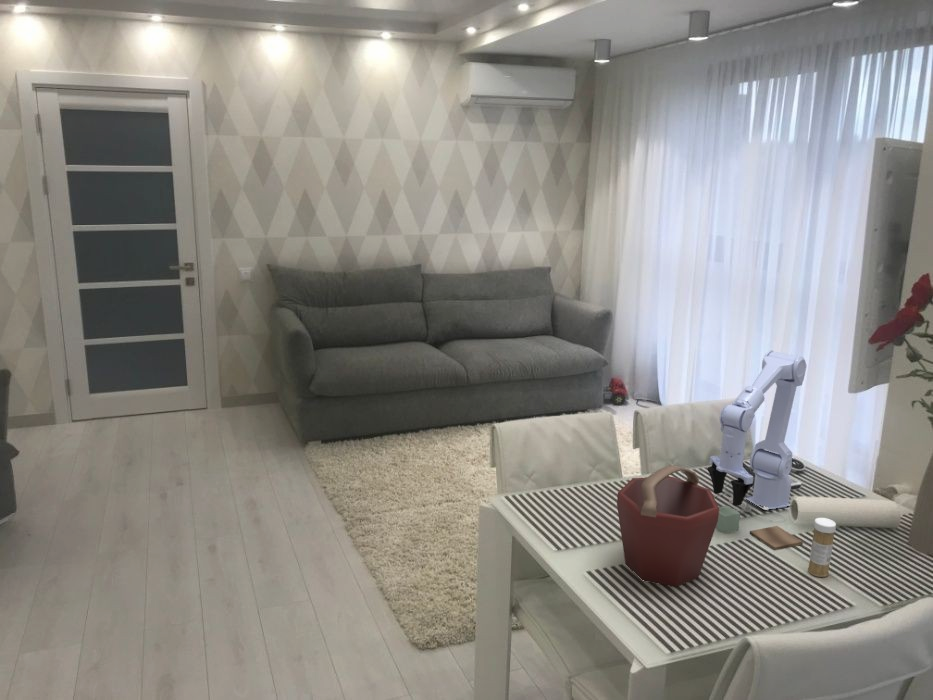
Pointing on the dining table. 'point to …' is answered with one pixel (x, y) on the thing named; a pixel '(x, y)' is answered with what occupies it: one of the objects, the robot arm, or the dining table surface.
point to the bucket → (666, 526)
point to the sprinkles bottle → (821, 547)
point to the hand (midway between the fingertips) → (727, 498)
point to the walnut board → (776, 537)
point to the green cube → (727, 520)
